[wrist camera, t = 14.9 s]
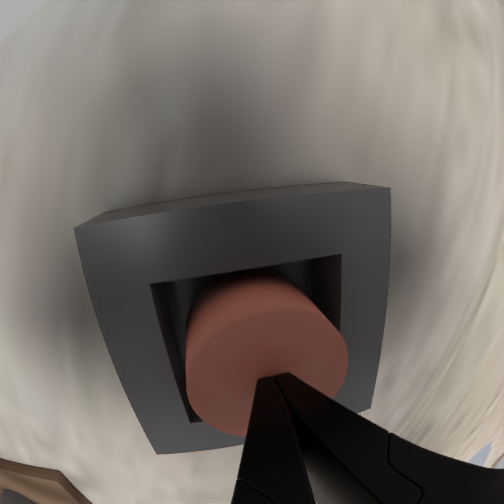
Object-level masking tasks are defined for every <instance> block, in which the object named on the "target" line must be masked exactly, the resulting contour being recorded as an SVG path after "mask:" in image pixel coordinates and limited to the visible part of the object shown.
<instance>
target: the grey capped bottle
mask: <svg viewBox="0 0 504 504" xmlns="http://www.w3.org/2000/svg"><path fill="white" fill-rule="evenodd" d="M0 504H36V503H34V502H33V501H31V500H30V499H28V498H26V497H25V496H23V495H21V494H19V493H17V492H15V491H12V490H9V489H3V491H2V494H1V497H0Z"/></svg>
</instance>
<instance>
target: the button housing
mask: <svg viewBox="0 0 504 504" xmlns="http://www.w3.org/2000/svg"><path fill="white" fill-rule="evenodd" d="M74 231H75V236H76V241H77V246H78V250H79V255H80V259H81V263H82V267H83V271H84V275H85V279H86V283H87V286H88V290H89V293H90V297H91V300H92V304H93V307H94V310H95V313H96V316H97V320H98V323H99V326H100V329H101V331H102V334H103V337H104V340H105V343H106V346H107V348H108V351H109V354H110V356H111V359H112V361H113V364H114V366H115V369H116V371H117V374H118V376H119V379H120V381H121V383H122V386H123V388H124V390H125V392H126V395H127V397H128V399H129V401H130V403H131V406H132V408H133V410H134V412H135V414H136V416H137V418H138V420H139V422H140V424H141V426H142V428H143V430H144V432H145V434H146V436H147V438H148V439H149V441H150V443H151V445H152V447H153V449H154V450H155V452H156V454H173V453H185V452H194V451H203V450H211V449H218V448H225V447H231V446H237V445H242V444H244V443H245V438H246V437H245V436H237V435H232V434H228V433H225V432H222V431H220V430H217V429H215V428H213V427H212V426H210V425H208V424H207V423H206V422H204V421H203V420H202V419H201V418H200V417H199V416H198V415H197V414H196V413H195V411H194V410H193V408H192V407H191V404H190V402H189V400H188V396H187V391H186V319H187V315H188V312H189V310H190V307H191V305H192V303H193V302H194V300H195V299H196V297H197V296H198V295H199V294H200V293H201V291H202V290H203V289H204V288H206V287H207V286H208V285H209V284H210V283H212V282H213V281H215V280H216V279H218V278H220V277H222V276H224V275H226V274H229V273H232V272H235V271H240V270H246V269H263V270H269V271H273V272H276V273H279V274H281V275H283V276H285V277H287V278H288V279H290V280H291V281H293V282H294V283H295V284H296V285H297V286H298V287H299V288H300V289H301V290H302V291H303V293H304V294H305V295H306V296H307V297H308V298H309V299H310V300H311V301H312V302H313V304H314V305H315V306H316V307H317V308H318V309H319V310H320V311H321V312H322V313H323V315H324V316H325V317H326V318H327V319H328V320H329V321H330V322H331V323H332V324H333V326H334V327H335V328H336V329H337V330H338V331H339V333H340V334H341V335H342V337H343V339H344V341H345V343H346V346H347V350H348V369H347V374H346V377H345V380H344V382H343V384H342V386H341V388H340V390H339V392H338V393H337V395H336V396H335V397H334V399H333V400H335V401H336V402H338V403H340V404H341V405H343V406H345V407H346V408H348V409H350V410H352V411H353V412H355V413H359V412H362V411H365V410H367V409H370V407H371V403H372V398H373V393H374V388H375V383H376V377H377V372H378V366H379V360H380V354H381V347H382V340H383V332H384V324H385V315H386V305H387V294H388V281H389V265H390V238H391V197H390V188H389V187H382V186H374V185H367V184H358V183H350V182H335V183H322V184H309V185H297V186H287V187H276V188H267V189H257V190H248V191H240V192H231V193H223V194H216V195H208V196H201V197H194V198H187V199H180V200H173V201H167V202H161V203H155V204H148V205H143V206H137V207H131V208H125V209H120V210H115V211H109V212H104V213H102V214H100V215H98V216H96V217H94V218H92V219H90V220H89V221H87V222H85V223H83V224H81V225H79V226H77V227H75V228H74Z"/></svg>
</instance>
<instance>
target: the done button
mask: <svg viewBox="0 0 504 504" xmlns="http://www.w3.org/2000/svg"><path fill="white" fill-rule="evenodd" d="M347 369H348V350H347V346H346V343H345V341H344V339H343V337H342V335H341V334H340V333H339V331H338V330H337V329H336V328H335V327H334V326H333V324H332V323H331V322H330V321H329V320H328V319H327V318H326V317H325V316H324V315H323V313H322V312H321V311H320V310H319V309H318V308H317V307H316V306H315V305H314V304H313V302H312V301H311V300H310V299H309V298H308V297H307V296H306V295H305V294H304V293H303V291H302V290H301V289H300V288H299V287H298V286H297V285H296V284H295V283H294V282H293V281H291V280H290V279H288V278H287V277H285V276H283V275H281V274H279V273H276V272H273V271H269V270H263V269H246V270H240V271H235V272H232V273H229V274H226V275H224V276H222V277H220V278H218V279H216V280H215V281H213V282H212V283H210V284H209V285H208V286H207V287H206V288H204V289H203V290H202V291H201V293H200V294H199V295H198V296H197V297H196V299H195V300H194V302H193V303H192V305H191V307H190V310H189V312H188V315H187V319H186V391H187V396H188V400H189V402H190V404H191V407H192V408H193V410H194V411H195V413H196V414H197V415H198V416H199V417H200V418H201V419H202V420H203V421H204V422H206V423H207V424H208V425H210V426H212V427H213V428H215V429H217V430H220V431H222V432H225V433H228V434H232V435H237V436H245V437H246V433H247V428H248V423H249V418H250V413H251V408H252V403H253V397H254V392H255V387H256V382H257V379H258V378H262V377H267V376H273V377H274V375H276V374H281V373H285V372H290V373H291V374H293V375H295V376H296V377H298V378H299V379H301V380H302V381H304V382H306V383H307V384H309V385H310V386H312V387H313V388H315V389H317V390H318V391H320V392H322V393H323V394H325V395H326V396H328V397H330V398H331V399H334V397H335V396H336V395H337V393H338V392H339V390H340V388H341V386H342V384H343V382H344V380H345V377H346V374H347Z"/></svg>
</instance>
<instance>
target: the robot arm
mask: <svg viewBox="0 0 504 504" xmlns="http://www.w3.org/2000/svg"><path fill="white" fill-rule="evenodd" d="M237 479H238V480H236V484H235V489H234V493H233V497H232V501H231V504H316V503H315V499H316V501H317V503H318V504H504V469H494V468H486V467H481V466H478V465H474V464H470V463H467V462H464V461H460V460H457V459H454V458H450V457H447V456H444V455H441V454H438V453H436V452H433V451H430V450H428V449H425V448H422V447H420V446H418V445H416V444H413V443H411V442H409V441H407V440H405V439H403V438H401V437H399V436H397V435H395V434H393V433H389V431H387V430H386V429H384V428H382V427H380V426H378V425H376V424H375V423H373V422H371V421H369V420H367V419H366V418H364V417H362V416H360V415H359V414H357V413H355V412H353V411H352V410H350V409H348V408H346V407H345V406H343V405H341V404H340V403H338V402H336V401H335V400H333V399H331V398H330V397H328V396H326V395H325V394H323V393H322V392H320V391H318V390H317V389H315V388H313V387H312V386H310V385H309V384H307V383H306V382H304V381H302V380H301V379H299V378H298V377H296V376H295V375H293V374H291V373H290V372H285V373H281V374H276V375H274V377H273V376H267V377H262V378H258V379H257V382H256V387H255V392H254V397H253V403H252V408H251V413H250V418H249V423H248V428H247V433H246V438H245V443H244V448H243V453H242V457H241V462H240V467H239V471H238V476H237ZM313 495H314V496H313ZM314 497H315V499H314Z"/></svg>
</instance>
